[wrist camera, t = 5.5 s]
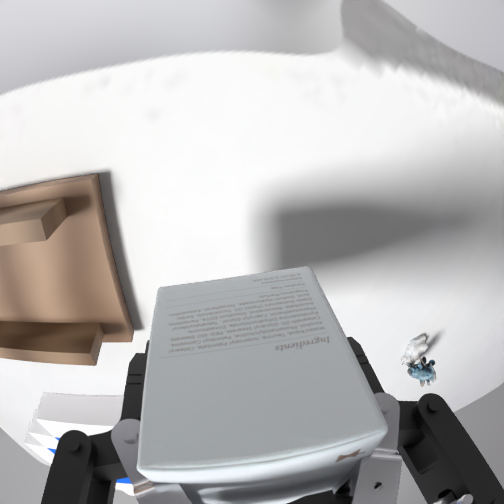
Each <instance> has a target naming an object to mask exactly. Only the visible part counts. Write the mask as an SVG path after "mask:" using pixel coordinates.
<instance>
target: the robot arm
mask: <svg viewBox="0 0 504 504" xmlns="http://www.w3.org/2000/svg"><path fill="white" fill-rule="evenodd" d="M347 339H348V342H349V344H350V346H351V348H352V350H353V352H354V354H355V356H356V358H357V360H358V362H359V365H360V367H361V369H362V371H363V373H364V375H365V377H366V379H367V381H368V383H369V386H370V388H371V390H372V392H373V394H374V396H375V398H376V401H377V403H378V405H379V407H380V409H381V412H382V414H383V416H384V418H385V420H386V423H387V425H388V432H387V434H386V435H385V437H384V438H383V439H382V441H381V442H380V443H379V445H378V446H377V447H376V449H375V450H374V451H373V452H372V453H371V454H370V455H368V456H365V457H362V458H361V459H360V460H359V461H358V462H357V463H356V464H355V465H354V467H353V468H352V469H351V470H350V471H349V472H348V473H347V474H346V475H345V476H344V477H343V478H342V479H341V480H340V481H339V482H338V483H337V484H336V485H335V486H334V487H333V488H332V490H328V491H324V492H320V493H316V494H311V495H307V496H304V497H301V498H299V499H297V500H295V501H292V502H290V503H287V504H396V501H397V495H398V489H399V482H400V475H401V466H402V459H403V461H404V462H405V464H406V466H407V467H408V469H409V471H410V473H411V474H412V476H413V478H414V480H415V482H416V484H417V485H418V487H419V489H420V491H421V492H422V494H423V496H424V498H425V500H426V501H427V503H428V504H504V489H503V488H502V486H501V485H500V483H499V481H498V480H497V478H496V476H495V475H494V473H493V471H492V470H491V468H490V467H489V465H488V464H487V462H486V460H485V459H484V457H483V456H482V454H481V453H480V451H479V450H478V448H477V447H476V445H475V444H474V442H473V441H472V439H471V438H470V436H469V435H468V433H467V432H466V430H465V429H464V427H463V426H462V424H461V423H460V422H459V420H458V419H457V417H456V416H455V415H454V413H453V412H452V410H451V409H450V407H449V406H448V405H447V403H446V402H445V400H444V399H443V398H442V397H440V396H439V395H437V394H433V393H429V394H425V395H423V396H422V397H421V398H420V400H419V401H398V400H396V399H395V397H393V396H392V395H390V394H387V393H385V392H384V390H383V389H382V387H381V384H380V382H379V380H378V378H377V376H376V374H375V373H374V371H373V369H372V367H371V365H370V364H369V361H368V359H367V357H366V356H365V353H364V351H363V349H362V347H361V345H360V344H359V343H358V342H357V341H356V340H354V339H353V338H352V337H347ZM149 341H150V340H148V341H147V344H146V351H145V353H136V354H135V356H134V357H133V359H132V360H131V361H130V363H129V368H128V376H127V380H126V386H125V392H124V399H123V406H122V413H121V418H120V420H119V422H118V423H117V424H116V425H115V426H114V427H113V429H111V430H109V431H107V432H104V433H99V434H94V435H89V436H87V435H86V434H85V433H84V432H82V431H79V430H70V431H67V432H65V433H64V434H63V435H62V436H61V437H60V439H59V442H58V445H57V448H56V451H55V454H54V457H53V461H52V464H51V467H50V471H49V474H48V478H47V482H46V486H45V490H44V494H43V497H42V502H41V504H113V498H114V492H115V487H116V482H117V479H122V478H127V477H129V479H130V481H131V483H132V485H133V488H134V490H133V492H134V495H135V497H136V499H137V501H138V503H139V504H194V503H193V502H192V500H191V499H190V498H189V496H188V495H187V494H186V493H185V491H184V490H183V489H182V487H181V486H180V485H179V483H153V482H152V481H150V480H149V479H148V478H146V477H145V476H144V475H142V474H141V473H140V472H139V471H138V470H137V461H138V448H139V435H140V422H141V411H142V400H143V390H144V382H145V373H146V365H147V356H148V350H149ZM397 450H398V452H399V454H398V453H397Z"/></svg>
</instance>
